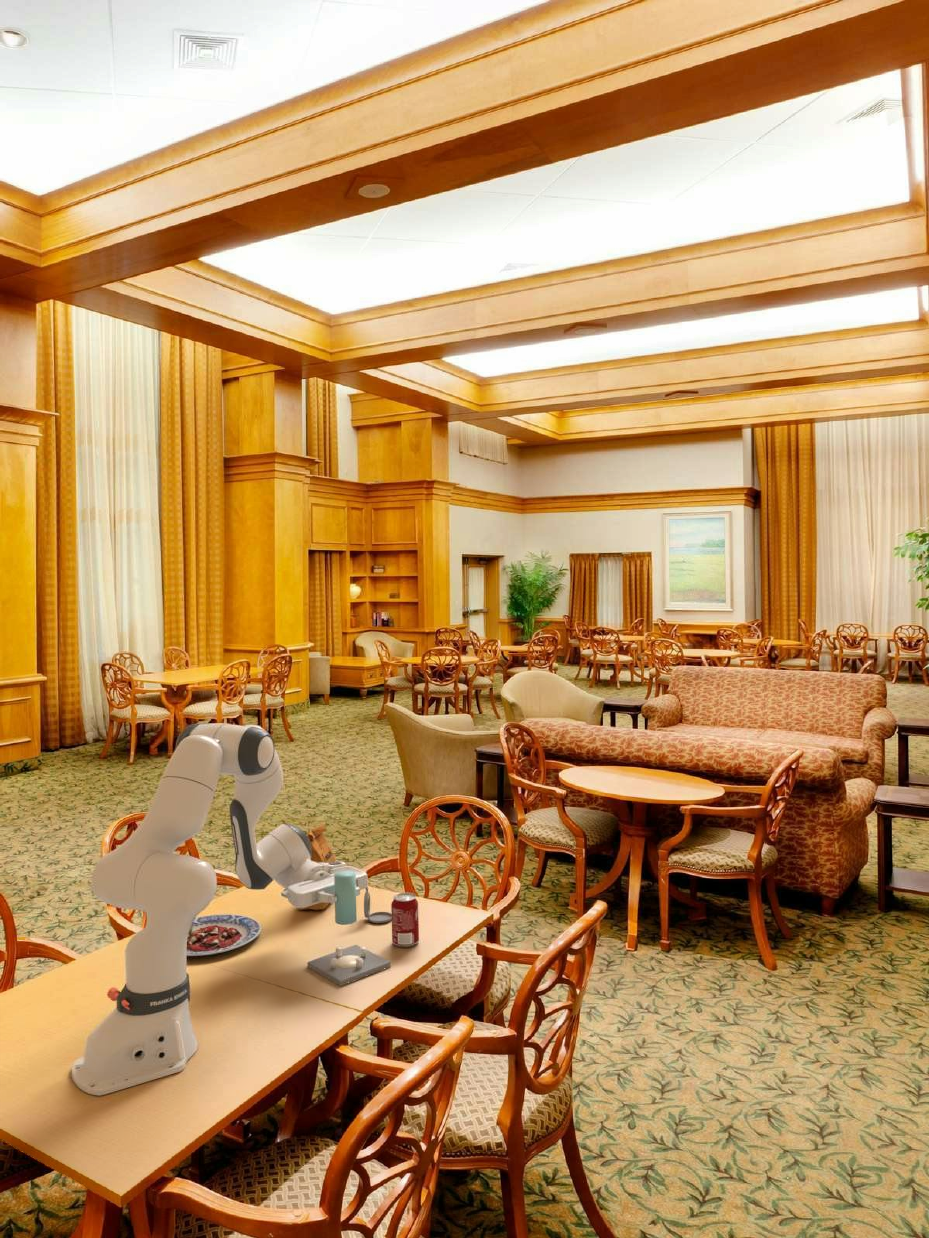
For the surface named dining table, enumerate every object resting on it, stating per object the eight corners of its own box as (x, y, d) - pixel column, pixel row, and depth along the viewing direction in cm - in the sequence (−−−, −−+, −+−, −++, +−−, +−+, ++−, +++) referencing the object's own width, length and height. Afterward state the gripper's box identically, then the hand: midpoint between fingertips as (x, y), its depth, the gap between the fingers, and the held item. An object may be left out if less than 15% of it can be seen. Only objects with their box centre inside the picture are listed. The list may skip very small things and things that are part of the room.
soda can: (415, 949, 208) (414, 901, 208) (388, 947, 209) (387, 900, 209) (421, 938, 215) (420, 892, 214) (396, 936, 216) (395, 890, 216)
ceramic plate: (282, 932, 221) (281, 921, 221) (206, 971, 198) (206, 959, 198) (212, 915, 234) (212, 905, 234) (134, 950, 211) (134, 938, 211)
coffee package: (342, 898, 245) (340, 823, 244) (324, 914, 233) (322, 835, 232) (311, 895, 247) (309, 821, 247) (291, 911, 235) (289, 833, 235)
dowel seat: (341, 986, 189) (340, 972, 189) (307, 966, 199) (307, 953, 199) (390, 966, 199) (390, 953, 198) (356, 949, 209) (355, 936, 209)
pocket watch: (397, 920, 227) (396, 884, 227) (369, 928, 222) (368, 890, 222) (382, 911, 234) (381, 876, 233) (355, 918, 229) (354, 882, 229)
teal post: (343, 926, 195) (342, 879, 194) (331, 920, 198) (330, 874, 198) (360, 920, 198) (359, 874, 198) (348, 915, 202) (347, 869, 201)
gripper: (277, 879, 201) (308, 894, 190) (347, 859, 214) (380, 872, 204) (277, 905, 201) (309, 921, 191) (348, 883, 215) (381, 897, 205)
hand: (346, 895), depth 198 cm, fingers closed on teal post, 5 cm apart
